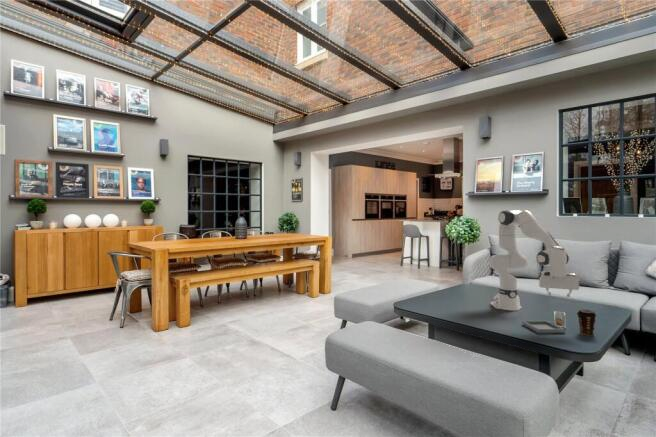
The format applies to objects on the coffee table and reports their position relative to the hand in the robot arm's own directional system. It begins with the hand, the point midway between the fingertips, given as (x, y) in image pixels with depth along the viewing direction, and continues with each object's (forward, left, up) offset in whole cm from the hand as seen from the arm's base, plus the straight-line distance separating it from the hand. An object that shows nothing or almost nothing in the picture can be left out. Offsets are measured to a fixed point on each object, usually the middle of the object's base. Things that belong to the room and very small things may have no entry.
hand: (558, 296), depth 209 cm
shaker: (-2, +2, -19) cm, 19 cm away
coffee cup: (+12, +8, -19) cm, 24 cm away
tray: (+3, -12, -19) cm, 22 cm away
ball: (-3, +2, -16) cm, 17 cm away
